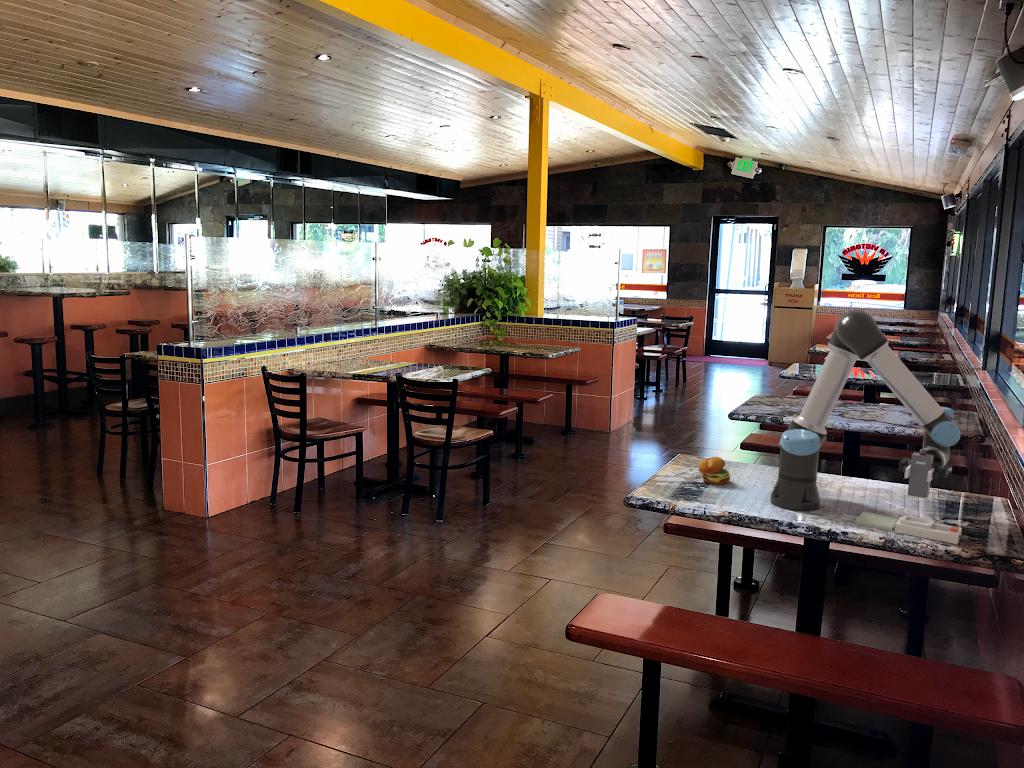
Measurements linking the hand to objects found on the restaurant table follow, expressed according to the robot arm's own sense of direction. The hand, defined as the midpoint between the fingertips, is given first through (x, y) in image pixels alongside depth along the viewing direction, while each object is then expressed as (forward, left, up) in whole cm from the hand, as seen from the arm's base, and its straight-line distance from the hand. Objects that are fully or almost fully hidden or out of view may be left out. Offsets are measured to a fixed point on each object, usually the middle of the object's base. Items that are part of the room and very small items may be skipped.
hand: (917, 475), depth 223 cm
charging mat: (-10, +7, -18) cm, 22 cm away
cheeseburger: (-66, +20, -18) cm, 71 cm away
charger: (0, +5, -7) cm, 9 cm away
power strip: (+4, +5, -18) cm, 19 cm away
